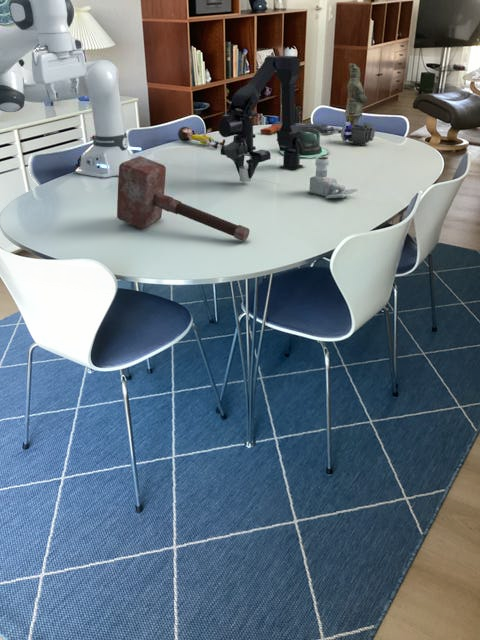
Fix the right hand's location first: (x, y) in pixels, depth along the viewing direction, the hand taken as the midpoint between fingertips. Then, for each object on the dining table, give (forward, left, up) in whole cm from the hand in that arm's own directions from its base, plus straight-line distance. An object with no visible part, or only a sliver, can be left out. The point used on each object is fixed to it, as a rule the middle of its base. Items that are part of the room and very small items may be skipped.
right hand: (245, 177), depth 197 cm
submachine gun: (-75, -33, -2) cm, 82 cm away
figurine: (-33, -56, -2) cm, 65 cm away
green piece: (-49, -10, -2) cm, 50 cm away
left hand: (+52, -25, +31) cm, 65 cm away
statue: (-98, -15, -2) cm, 99 cm away
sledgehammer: (+46, +16, -2) cm, 49 cm away
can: (0, 0, -1) cm, 1 cm away
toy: (-75, 0, -2) cm, 75 cm away
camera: (-7, +31, -2) cm, 32 cm away
